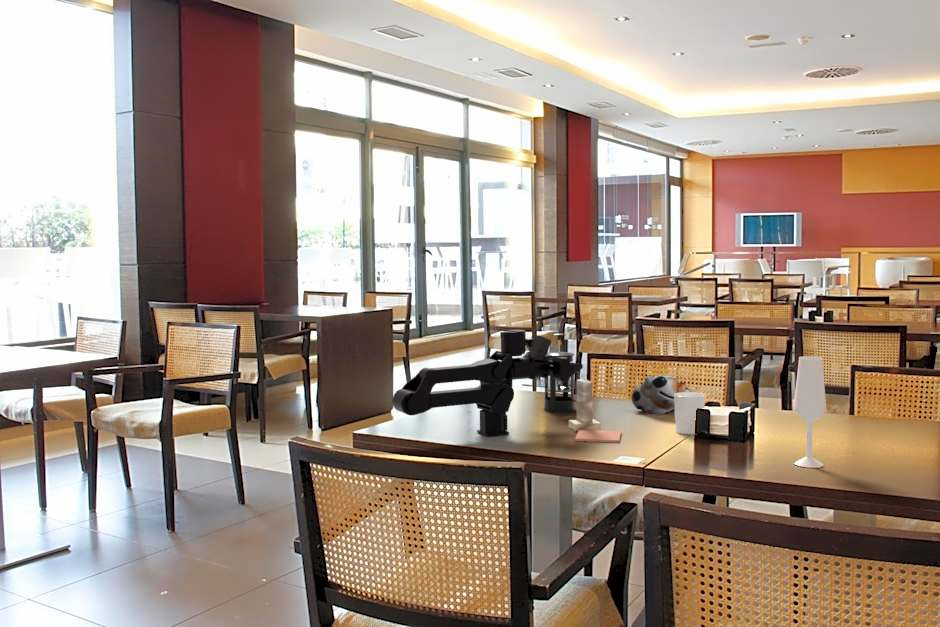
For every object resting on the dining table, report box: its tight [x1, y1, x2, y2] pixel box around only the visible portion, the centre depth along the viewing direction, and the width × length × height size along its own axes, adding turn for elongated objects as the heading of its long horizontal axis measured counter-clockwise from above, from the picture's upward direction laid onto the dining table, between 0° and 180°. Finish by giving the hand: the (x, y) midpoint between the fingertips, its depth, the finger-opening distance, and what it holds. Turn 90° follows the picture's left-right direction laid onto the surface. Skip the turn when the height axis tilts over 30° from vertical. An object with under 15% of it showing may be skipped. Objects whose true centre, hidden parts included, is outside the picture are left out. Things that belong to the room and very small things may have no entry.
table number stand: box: [568, 378, 602, 433], centre depth 238 cm, size 7×6×13 cm
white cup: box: [674, 391, 706, 435], centre depth 232 cm, size 8×8×10 cm
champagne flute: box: [793, 355, 827, 467], centre depth 196 cm, size 7×7×24 cm
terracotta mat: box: [574, 430, 622, 444], centre depth 228 cm, size 11×11×1 cm
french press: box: [543, 332, 581, 413], centre depth 266 cm, size 12×9×23 cm
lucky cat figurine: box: [631, 374, 692, 416], centre depth 260 cm, size 15×12×14 cm
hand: (572, 364), depth 244 cm, fingers open, 9 cm apart
